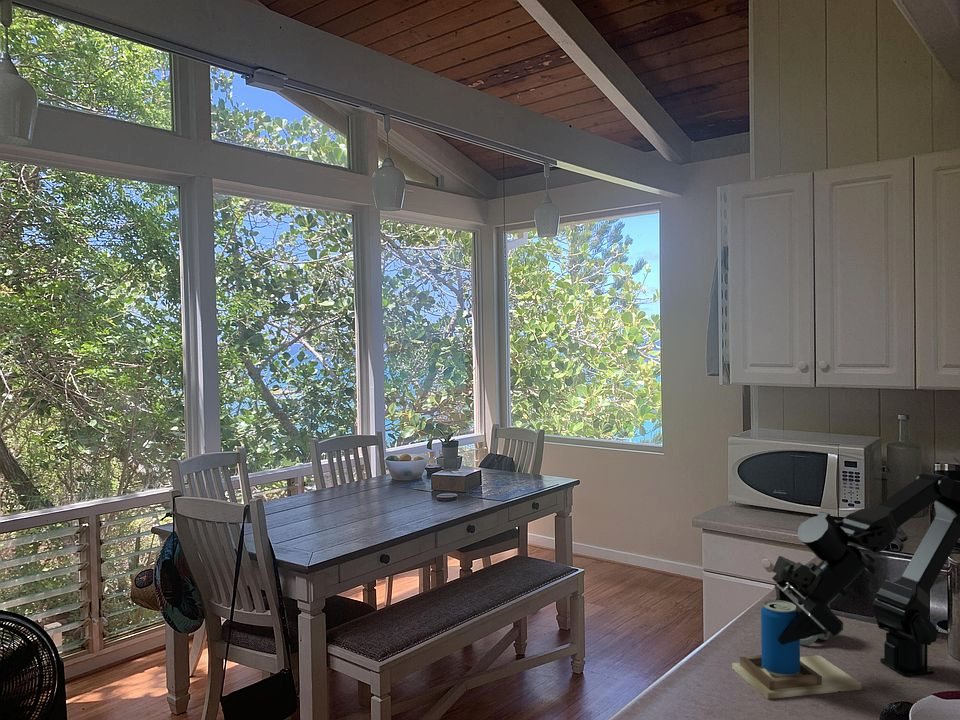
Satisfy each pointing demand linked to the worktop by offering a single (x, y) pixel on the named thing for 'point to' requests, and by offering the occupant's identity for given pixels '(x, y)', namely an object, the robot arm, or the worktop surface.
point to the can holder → (796, 678)
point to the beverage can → (774, 653)
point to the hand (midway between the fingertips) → (772, 634)
